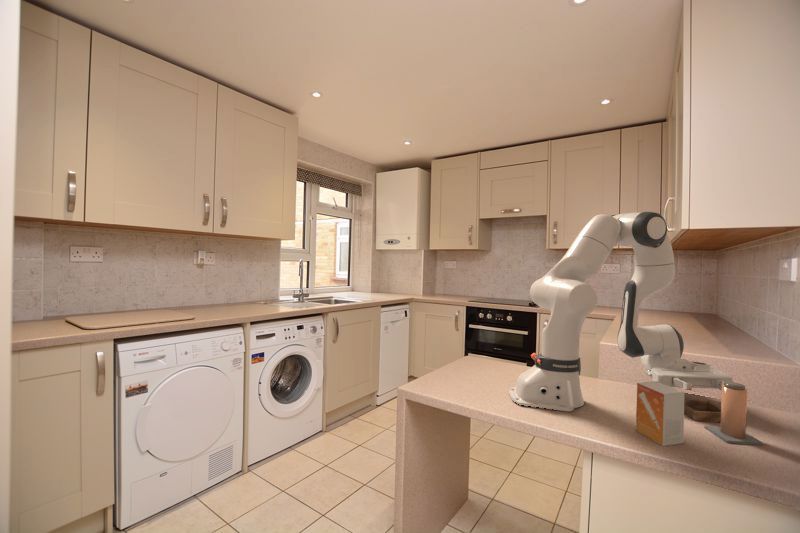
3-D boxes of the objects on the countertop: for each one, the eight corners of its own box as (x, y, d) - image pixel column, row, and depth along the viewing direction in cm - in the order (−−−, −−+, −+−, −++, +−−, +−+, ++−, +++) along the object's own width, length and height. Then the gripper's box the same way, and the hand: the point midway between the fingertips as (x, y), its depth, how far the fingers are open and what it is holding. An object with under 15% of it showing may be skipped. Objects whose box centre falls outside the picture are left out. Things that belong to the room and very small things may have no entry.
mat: (726, 442, 91) (726, 440, 91) (704, 427, 99) (704, 425, 99) (763, 445, 90) (763, 442, 90) (737, 429, 98) (737, 427, 98)
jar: (729, 437, 92) (731, 387, 92) (715, 428, 97) (717, 380, 96) (750, 439, 91) (752, 388, 91) (735, 429, 96) (737, 381, 96)
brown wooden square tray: (695, 420, 103) (695, 412, 103) (675, 407, 112) (675, 399, 112) (731, 422, 102) (731, 413, 102) (708, 408, 111) (708, 400, 111)
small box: (635, 430, 97) (636, 382, 97) (655, 428, 98) (656, 380, 98) (662, 446, 89) (663, 393, 89) (684, 444, 90) (685, 391, 90)
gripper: (642, 361, 118) (667, 375, 104) (712, 363, 115) (748, 378, 102) (642, 380, 118) (667, 397, 105) (712, 383, 116) (747, 400, 102)
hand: (707, 387), depth 103 cm, fingers open, 8 cm apart
